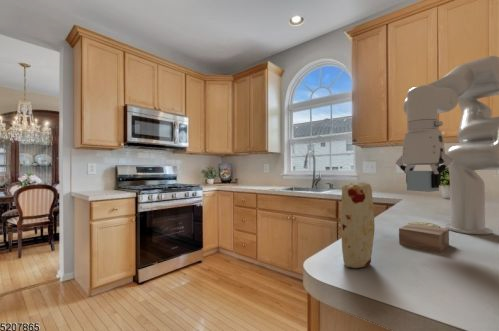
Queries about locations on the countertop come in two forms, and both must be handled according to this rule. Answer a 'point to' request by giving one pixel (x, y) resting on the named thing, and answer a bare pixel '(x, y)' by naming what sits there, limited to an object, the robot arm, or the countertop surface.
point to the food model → (357, 224)
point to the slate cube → (420, 181)
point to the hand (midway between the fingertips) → (422, 186)
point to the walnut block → (424, 237)
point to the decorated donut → (424, 224)
